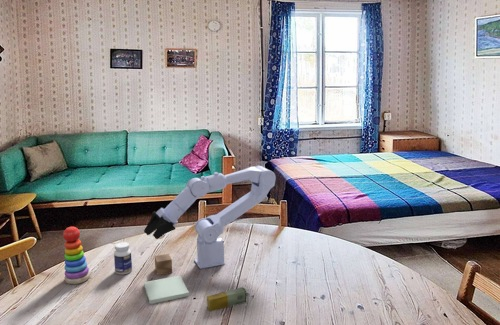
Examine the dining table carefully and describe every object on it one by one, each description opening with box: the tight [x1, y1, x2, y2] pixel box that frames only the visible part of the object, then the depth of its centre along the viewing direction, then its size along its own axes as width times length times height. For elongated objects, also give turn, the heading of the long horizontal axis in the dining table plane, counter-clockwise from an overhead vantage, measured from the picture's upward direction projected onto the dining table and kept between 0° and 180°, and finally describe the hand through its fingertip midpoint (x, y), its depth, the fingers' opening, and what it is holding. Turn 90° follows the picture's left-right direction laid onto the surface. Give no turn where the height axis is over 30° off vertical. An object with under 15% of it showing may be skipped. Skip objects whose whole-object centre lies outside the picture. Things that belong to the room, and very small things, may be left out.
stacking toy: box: [62, 226, 91, 285], centre depth 137 cm, size 8×8×19 cm
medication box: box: [206, 286, 247, 312], centre depth 123 cm, size 12×3×4 cm, turn 115°
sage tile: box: [143, 275, 190, 305], centre depth 131 cm, size 12×12×1 cm
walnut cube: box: [154, 253, 173, 276], centre depth 144 cm, size 5×5×5 cm
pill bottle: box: [113, 241, 133, 275], centre depth 144 cm, size 6×6×10 cm
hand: (150, 235), depth 141 cm, fingers open, 7 cm apart
